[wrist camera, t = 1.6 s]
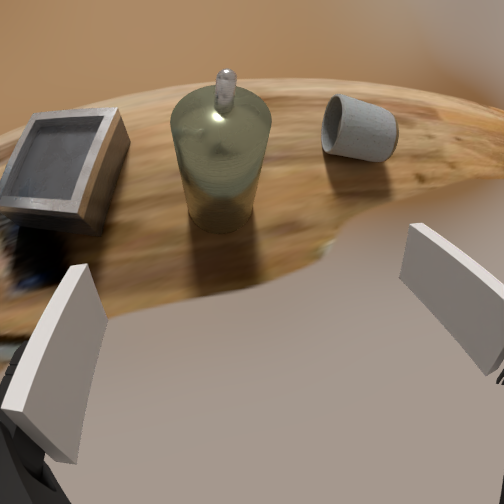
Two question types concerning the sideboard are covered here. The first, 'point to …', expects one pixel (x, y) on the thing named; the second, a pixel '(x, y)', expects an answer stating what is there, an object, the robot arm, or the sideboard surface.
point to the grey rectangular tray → (65, 170)
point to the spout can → (220, 151)
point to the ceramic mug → (358, 130)
